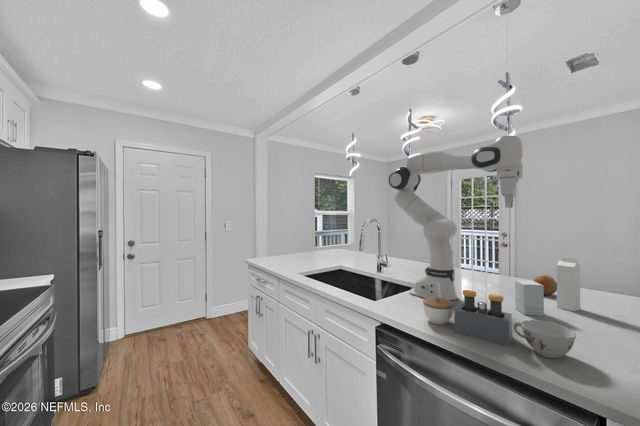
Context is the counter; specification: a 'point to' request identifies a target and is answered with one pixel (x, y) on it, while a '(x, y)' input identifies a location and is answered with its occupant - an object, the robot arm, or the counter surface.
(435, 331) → the counter surface
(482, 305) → the shiny silver ball
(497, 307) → the knob right
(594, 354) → the counter surface
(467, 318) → the mount
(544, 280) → the onion
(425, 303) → the lidded jar
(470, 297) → the knob left
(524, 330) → the teacup
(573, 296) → the milk
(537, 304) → the supplement box
